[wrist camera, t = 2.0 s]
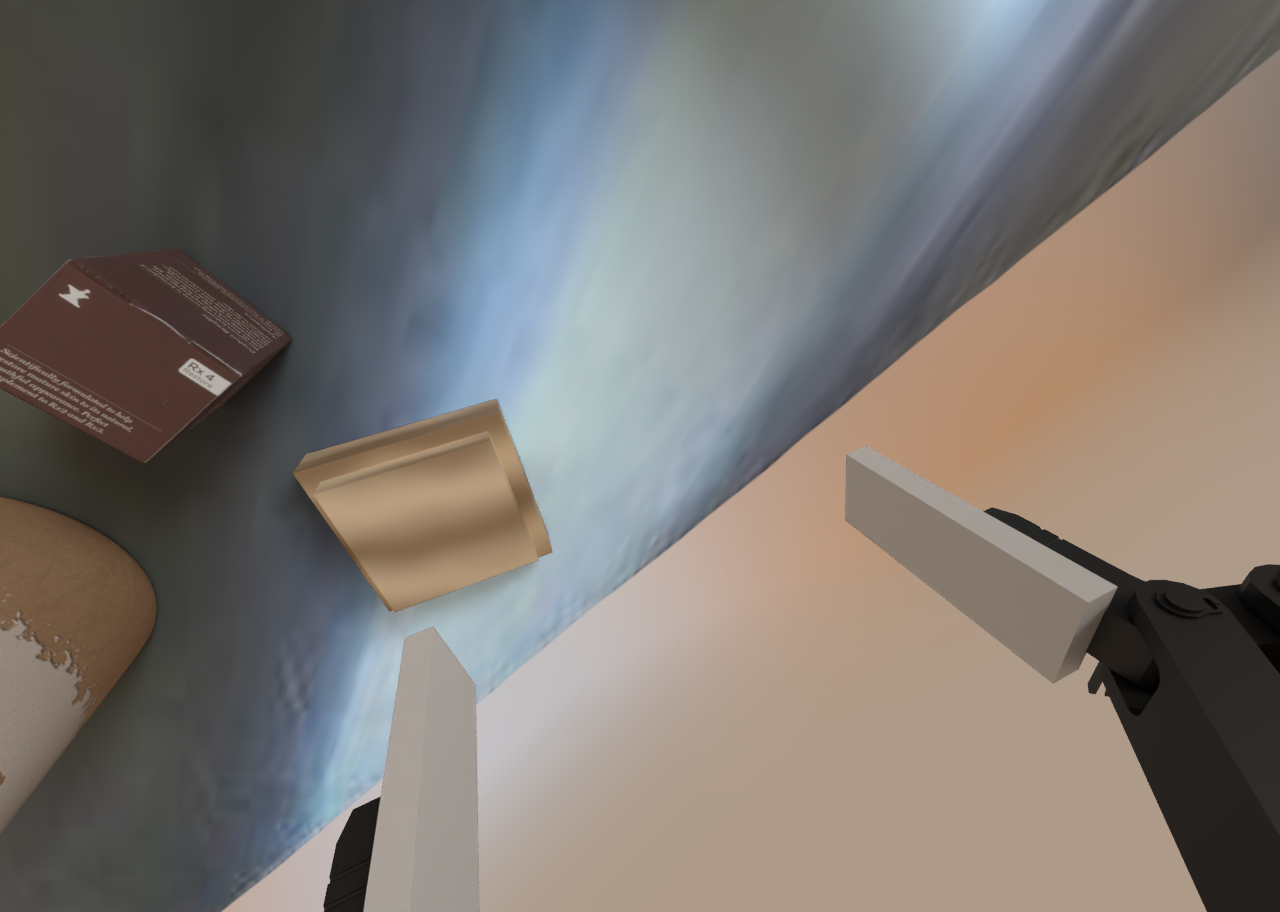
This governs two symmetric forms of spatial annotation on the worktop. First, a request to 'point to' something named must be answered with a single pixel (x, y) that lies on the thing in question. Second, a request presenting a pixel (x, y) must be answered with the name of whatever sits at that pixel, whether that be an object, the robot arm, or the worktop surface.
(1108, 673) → the robot arm
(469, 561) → the plinth
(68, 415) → the box
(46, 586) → the vase
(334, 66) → the worktop surface
